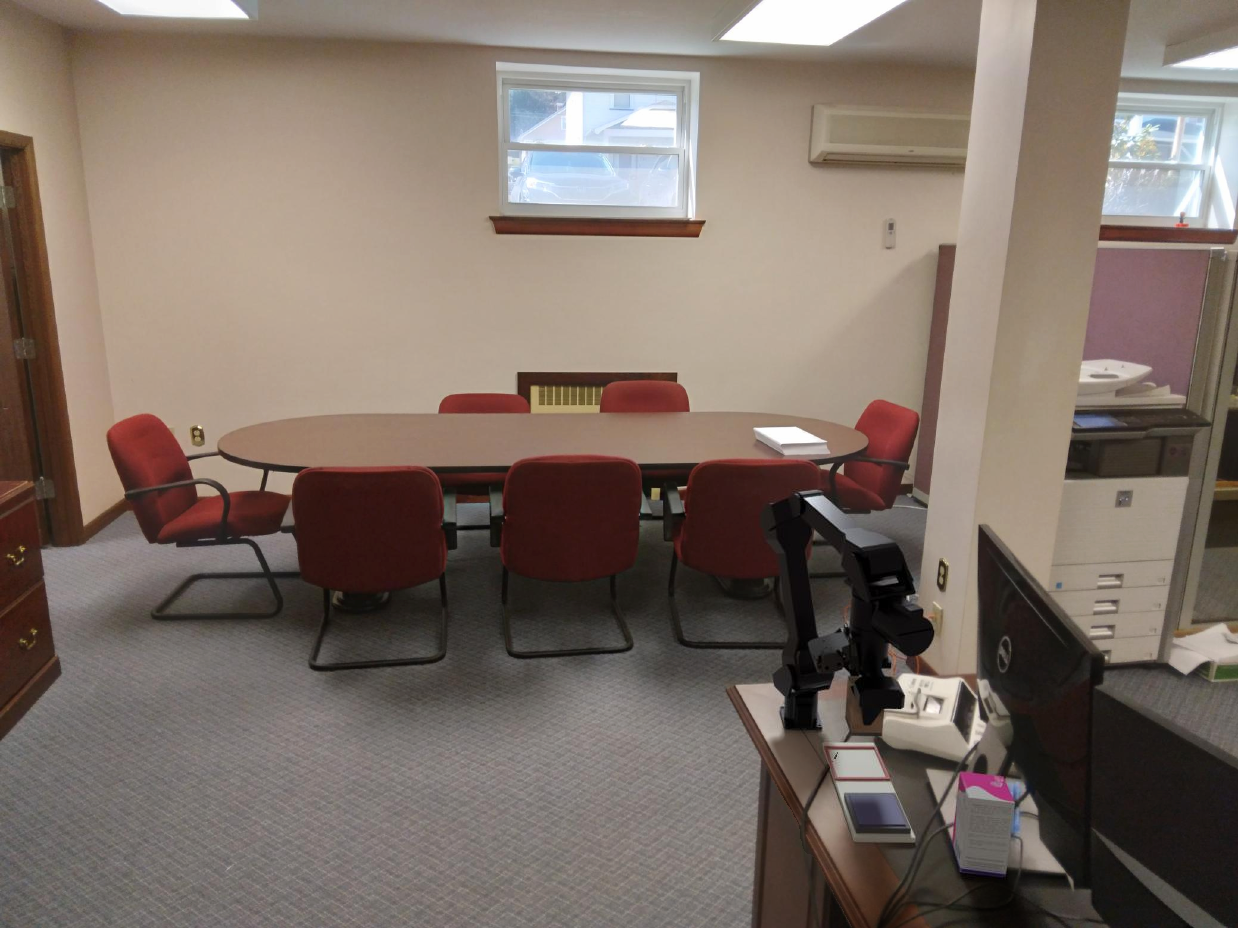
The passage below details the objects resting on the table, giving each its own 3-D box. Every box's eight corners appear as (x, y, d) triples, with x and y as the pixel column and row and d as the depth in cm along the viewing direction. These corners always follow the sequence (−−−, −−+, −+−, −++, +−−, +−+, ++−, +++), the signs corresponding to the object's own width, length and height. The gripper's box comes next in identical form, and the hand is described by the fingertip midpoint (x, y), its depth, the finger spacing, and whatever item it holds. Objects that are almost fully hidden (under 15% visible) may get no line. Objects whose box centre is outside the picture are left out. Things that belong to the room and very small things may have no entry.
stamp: (845, 717, 122) (847, 675, 120) (874, 718, 121) (877, 676, 119) (851, 735, 117) (854, 692, 115) (882, 736, 117) (885, 692, 115)
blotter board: (822, 746, 131) (822, 736, 130) (873, 746, 130) (874, 736, 130) (853, 841, 109) (854, 830, 109) (915, 842, 109) (916, 830, 108)
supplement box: (1007, 878, 102) (1016, 803, 99) (959, 872, 103) (966, 798, 100) (996, 846, 108) (1004, 774, 105) (950, 841, 109) (956, 769, 106)
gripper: (803, 594, 124) (799, 680, 128) (826, 655, 106) (820, 753, 111) (875, 594, 123) (868, 681, 128) (910, 655, 105) (901, 754, 110)
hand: (863, 715), depth 119 cm, fingers closed on stamp, 4 cm apart
